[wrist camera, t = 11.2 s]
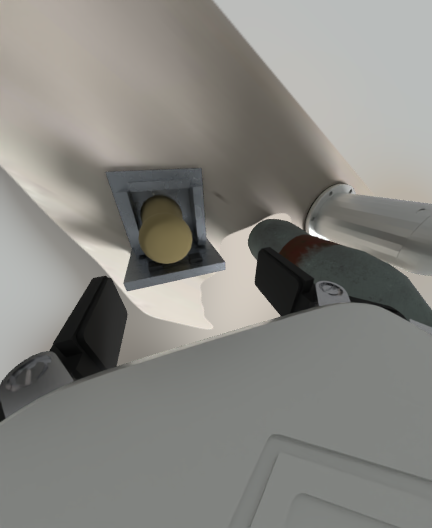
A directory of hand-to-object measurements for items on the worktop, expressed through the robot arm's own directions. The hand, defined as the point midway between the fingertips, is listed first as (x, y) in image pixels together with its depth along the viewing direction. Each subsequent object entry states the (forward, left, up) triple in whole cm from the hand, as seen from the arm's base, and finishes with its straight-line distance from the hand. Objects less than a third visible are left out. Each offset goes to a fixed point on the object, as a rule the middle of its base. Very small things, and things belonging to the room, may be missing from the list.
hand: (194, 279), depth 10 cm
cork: (+1, 0, -17) cm, 17 cm away
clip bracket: (+1, 0, -18) cm, 18 cm away
